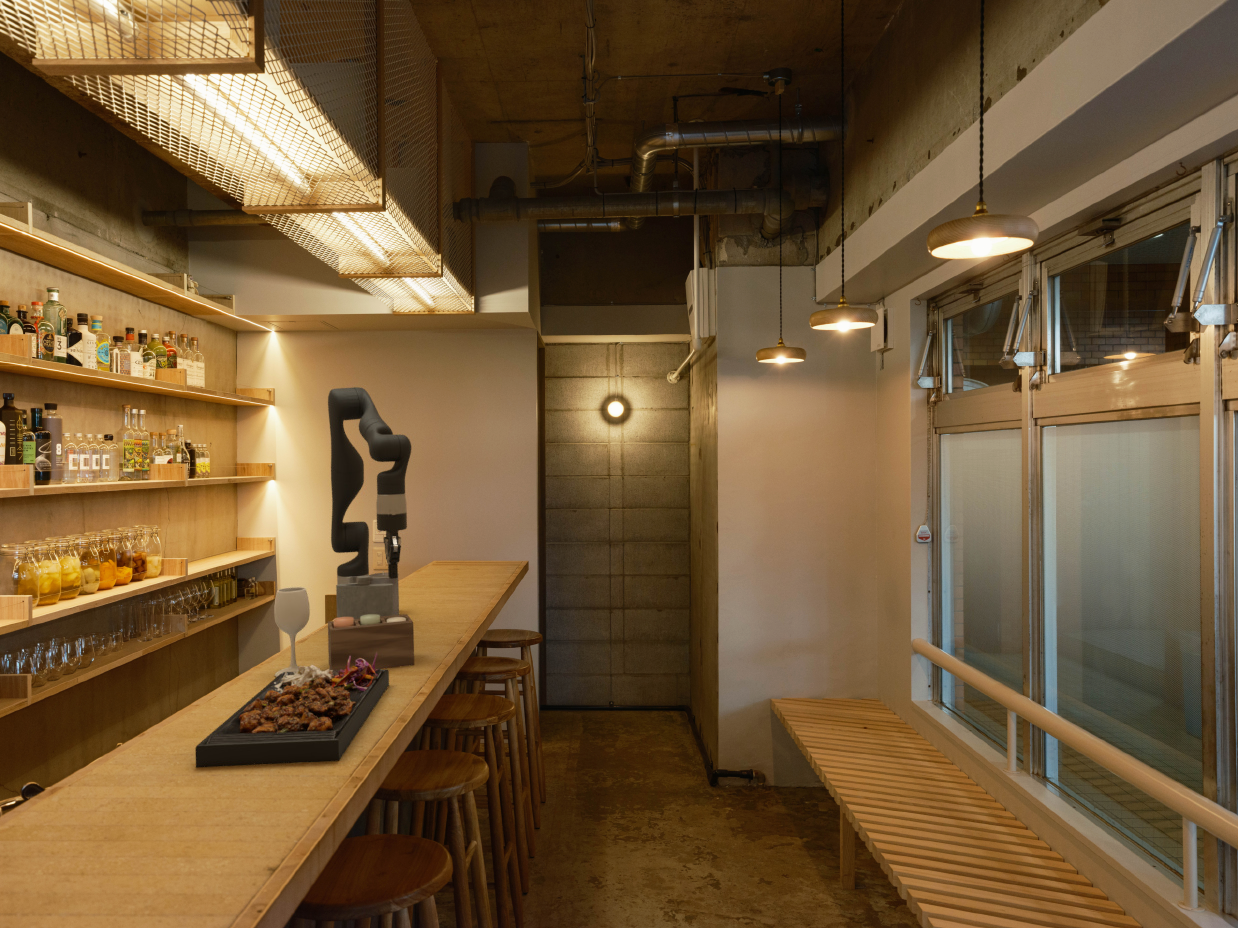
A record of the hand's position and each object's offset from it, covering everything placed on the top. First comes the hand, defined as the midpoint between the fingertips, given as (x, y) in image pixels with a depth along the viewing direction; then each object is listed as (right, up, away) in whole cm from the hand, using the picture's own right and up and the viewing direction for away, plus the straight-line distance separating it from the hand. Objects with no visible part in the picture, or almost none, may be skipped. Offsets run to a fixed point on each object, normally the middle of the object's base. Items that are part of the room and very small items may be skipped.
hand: (393, 577), depth 208 cm
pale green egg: (-5, -13, -2) cm, 14 cm away
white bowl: (-22, -23, -9) cm, 33 cm away
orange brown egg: (-11, -13, -5) cm, 18 cm away
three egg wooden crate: (-5, -22, -2) cm, 23 cm away
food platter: (-6, -24, -43) cm, 50 cm away
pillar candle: (-19, -21, +57) cm, 64 cm away
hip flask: (-12, -22, +16) cm, 30 cm away
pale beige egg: (+1, -14, +1) cm, 14 cm away
